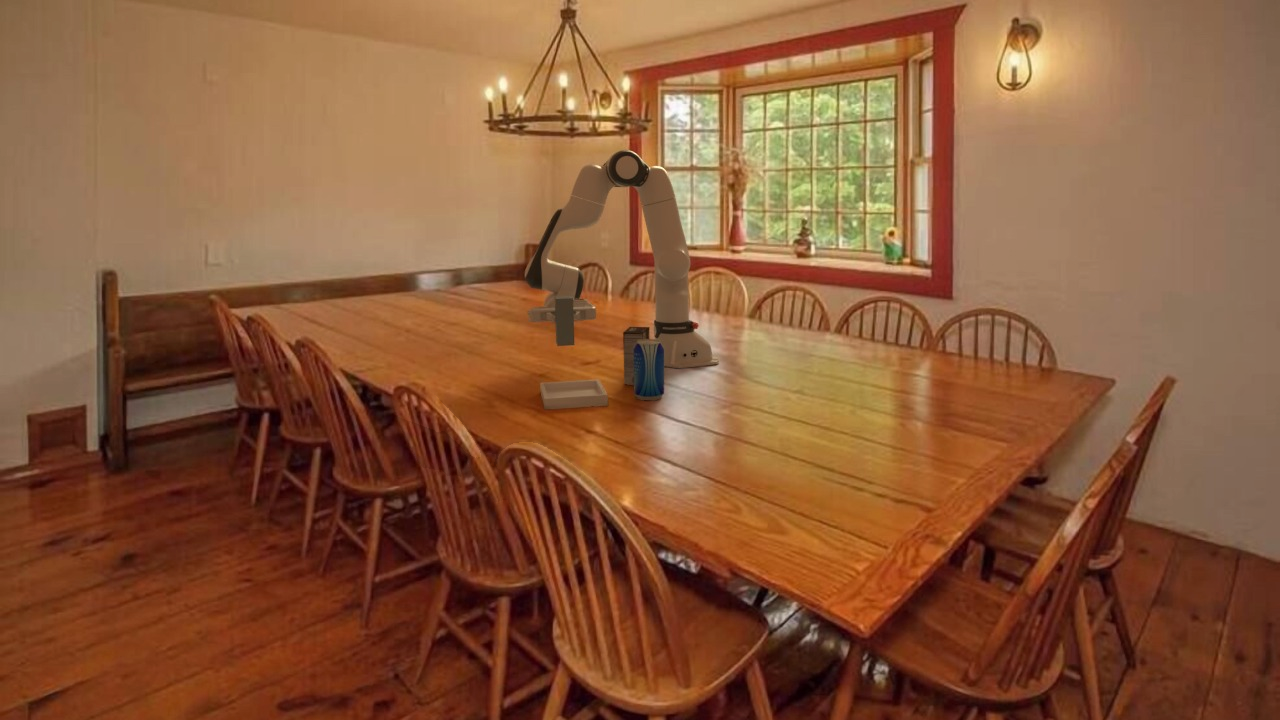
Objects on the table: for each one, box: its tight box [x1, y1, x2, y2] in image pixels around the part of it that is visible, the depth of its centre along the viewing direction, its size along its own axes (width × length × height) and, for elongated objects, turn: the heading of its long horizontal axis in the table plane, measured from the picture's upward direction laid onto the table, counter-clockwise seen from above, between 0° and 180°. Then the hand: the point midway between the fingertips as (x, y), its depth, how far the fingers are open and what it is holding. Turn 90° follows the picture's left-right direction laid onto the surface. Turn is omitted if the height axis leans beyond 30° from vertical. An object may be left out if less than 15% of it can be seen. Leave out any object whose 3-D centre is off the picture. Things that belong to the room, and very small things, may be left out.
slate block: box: [554, 296, 575, 347], centre depth 232 cm, size 5×5×14 cm
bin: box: [539, 378, 609, 411], centre depth 219 cm, size 17×17×3 cm
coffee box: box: [622, 326, 651, 386], centre depth 235 cm, size 9×6×16 cm
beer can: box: [633, 338, 665, 401], centre depth 218 cm, size 8×8×16 cm
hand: (564, 317), depth 231 cm, fingers closed on slate block, 5 cm apart
